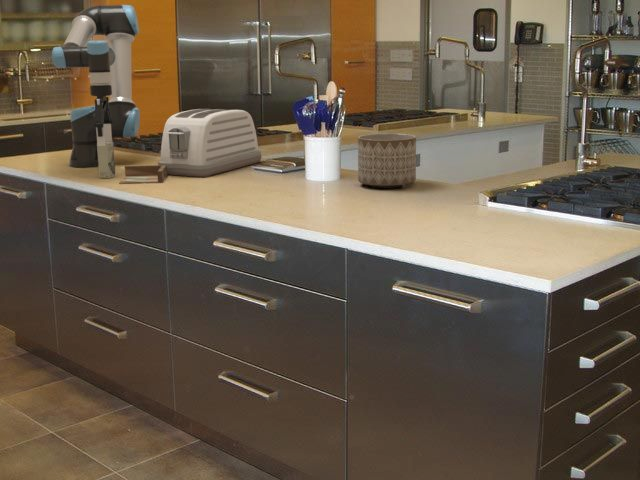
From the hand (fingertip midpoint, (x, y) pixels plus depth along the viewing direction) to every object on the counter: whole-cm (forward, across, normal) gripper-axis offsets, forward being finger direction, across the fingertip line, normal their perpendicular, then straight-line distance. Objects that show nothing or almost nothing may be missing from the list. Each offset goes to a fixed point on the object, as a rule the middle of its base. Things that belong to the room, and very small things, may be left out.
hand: (104, 143), depth 323 cm
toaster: (+13, -16, +37) cm, 42 cm away
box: (+13, -1, 0) cm, 13 cm away
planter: (+13, +32, +99) cm, 105 cm away
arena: (+12, +7, +14) cm, 20 cm away
